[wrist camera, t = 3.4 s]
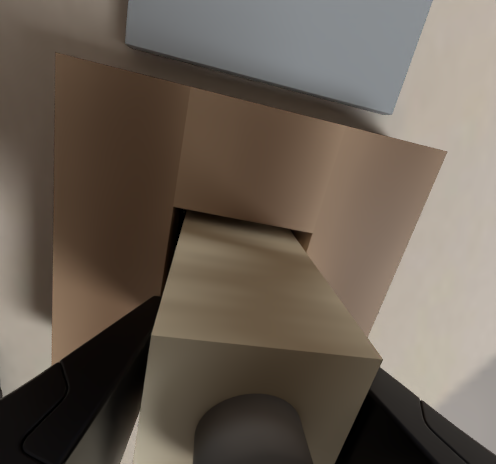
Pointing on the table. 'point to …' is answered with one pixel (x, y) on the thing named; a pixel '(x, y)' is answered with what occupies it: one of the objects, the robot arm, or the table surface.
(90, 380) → the robot arm
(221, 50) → the mat
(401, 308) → the table surface
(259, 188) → the socket block
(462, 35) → the table surface
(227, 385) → the plug
